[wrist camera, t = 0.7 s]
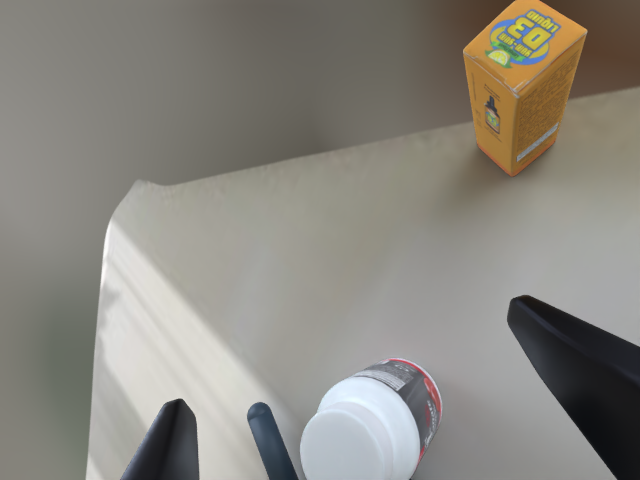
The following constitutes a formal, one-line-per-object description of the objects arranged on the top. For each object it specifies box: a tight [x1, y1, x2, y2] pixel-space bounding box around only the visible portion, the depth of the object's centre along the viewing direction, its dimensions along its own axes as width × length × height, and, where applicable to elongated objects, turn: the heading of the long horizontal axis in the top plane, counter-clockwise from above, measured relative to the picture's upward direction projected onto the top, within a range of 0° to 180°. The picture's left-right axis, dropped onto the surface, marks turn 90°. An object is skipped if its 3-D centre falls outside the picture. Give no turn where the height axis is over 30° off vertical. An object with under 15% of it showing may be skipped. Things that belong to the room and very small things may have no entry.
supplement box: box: [463, 0, 587, 177], centre depth 18 cm, size 3×4×10 cm
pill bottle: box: [300, 358, 442, 480], centre depth 19 cm, size 5×5×10 cm
